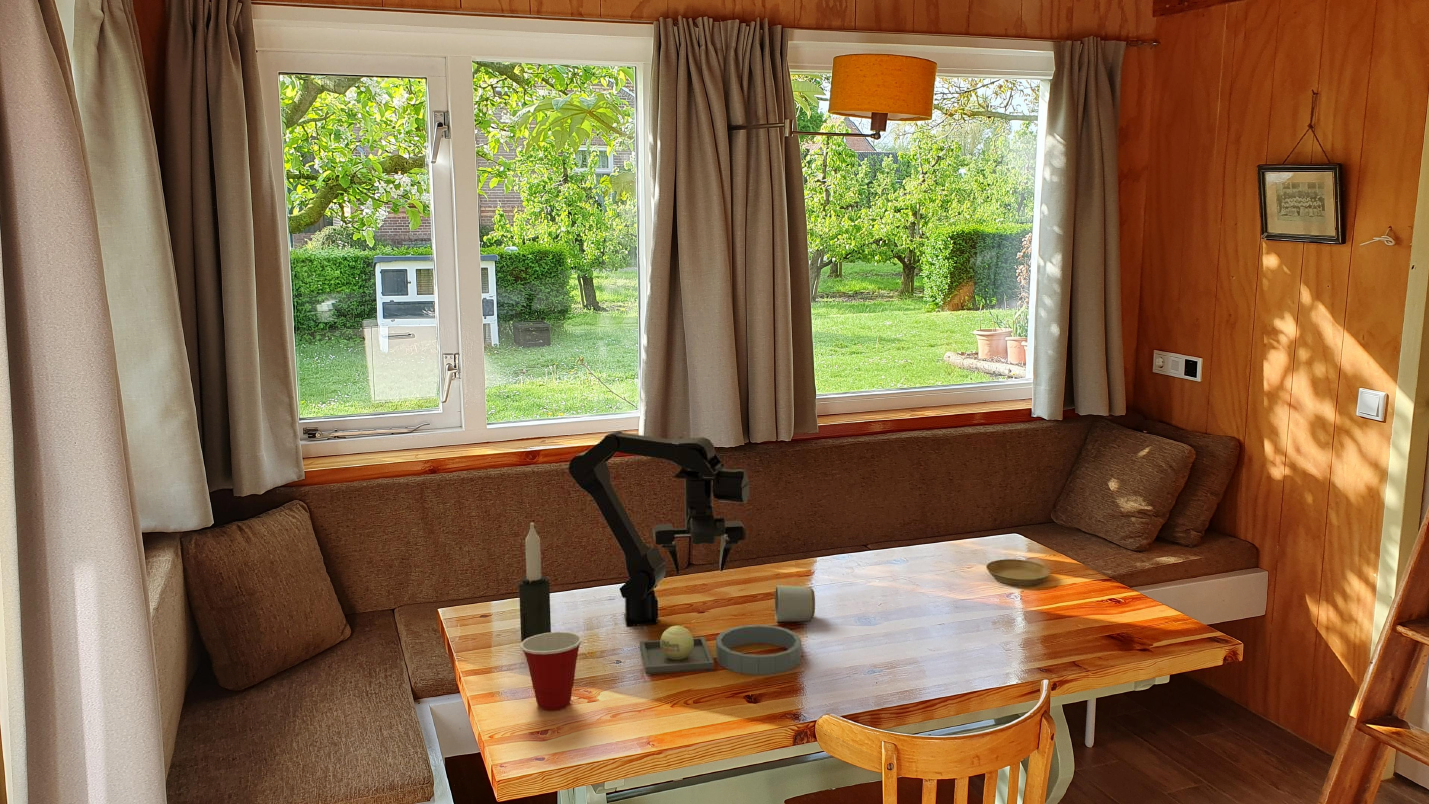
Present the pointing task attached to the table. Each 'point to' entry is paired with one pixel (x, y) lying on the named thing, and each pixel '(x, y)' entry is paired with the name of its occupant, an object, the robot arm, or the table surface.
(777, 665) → the gray open ring
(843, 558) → the table surface
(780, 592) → the ceramic mug
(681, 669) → the tray
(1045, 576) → the plant saucer
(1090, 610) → the table surface
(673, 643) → the tennis ball
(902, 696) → the table surface
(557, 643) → the plastic cup
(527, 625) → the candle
